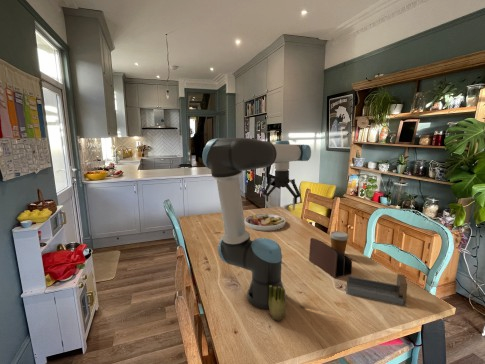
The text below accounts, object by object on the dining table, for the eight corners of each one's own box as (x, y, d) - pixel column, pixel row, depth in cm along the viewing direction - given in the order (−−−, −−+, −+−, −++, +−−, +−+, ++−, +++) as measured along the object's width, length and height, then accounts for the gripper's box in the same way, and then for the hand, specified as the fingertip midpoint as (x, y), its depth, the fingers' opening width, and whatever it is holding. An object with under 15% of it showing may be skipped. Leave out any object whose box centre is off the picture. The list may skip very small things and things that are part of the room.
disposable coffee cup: (350, 254, 142) (351, 233, 140) (343, 260, 135) (344, 238, 133) (333, 249, 149) (334, 229, 147) (325, 255, 142) (326, 234, 140)
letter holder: (334, 280, 117) (336, 251, 114) (308, 261, 135) (309, 235, 133) (351, 275, 120) (353, 247, 118) (324, 258, 139) (325, 233, 136)
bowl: (263, 217, 212) (263, 208, 211) (293, 226, 190) (293, 215, 189) (236, 225, 192) (236, 215, 191) (266, 236, 170) (266, 225, 169)
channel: (406, 307, 97) (408, 286, 96) (346, 295, 105) (347, 275, 104) (401, 293, 106) (403, 273, 105) (346, 282, 114) (348, 264, 113)
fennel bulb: (266, 315, 94) (266, 285, 92) (276, 310, 97) (277, 280, 95) (277, 324, 89) (278, 292, 87) (288, 318, 92) (288, 288, 90)
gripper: (306, 170, 137) (305, 208, 140) (261, 168, 146) (261, 205, 149) (304, 171, 130) (303, 212, 133) (257, 169, 139) (257, 208, 142)
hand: (281, 208), depth 141 cm, fingers open, 13 cm apart
